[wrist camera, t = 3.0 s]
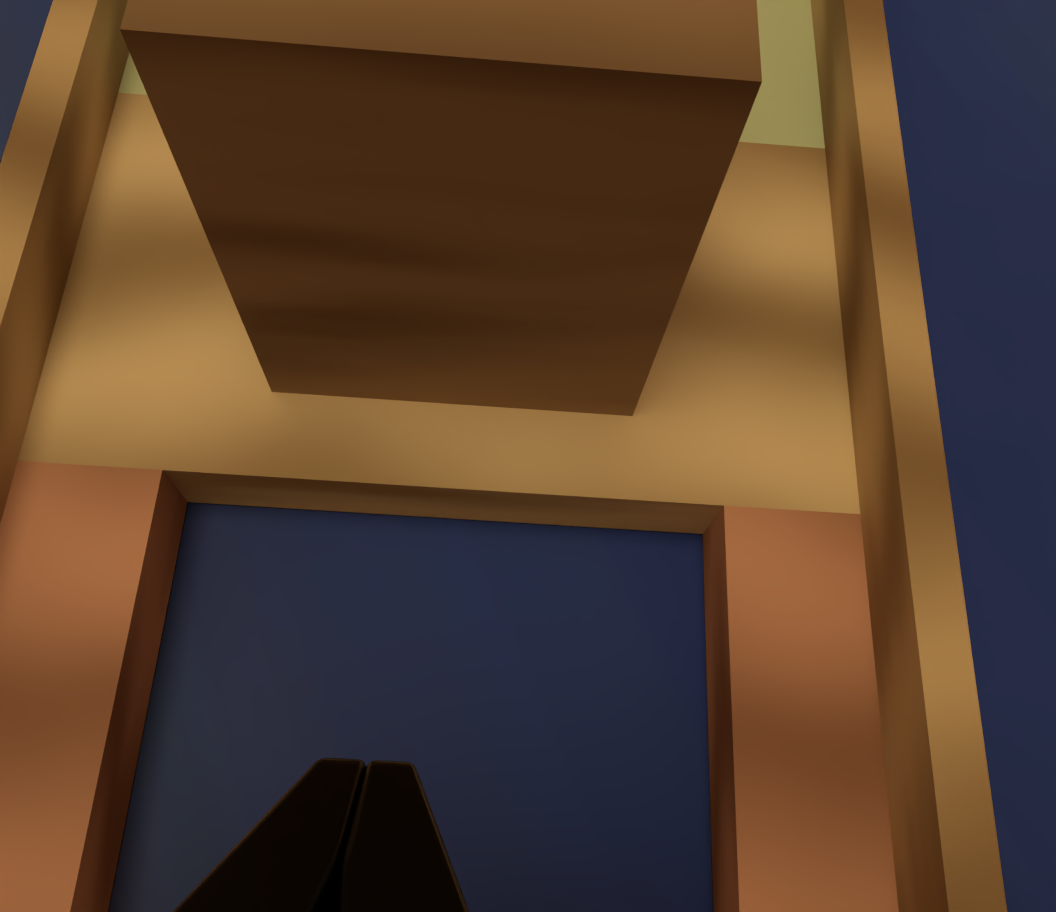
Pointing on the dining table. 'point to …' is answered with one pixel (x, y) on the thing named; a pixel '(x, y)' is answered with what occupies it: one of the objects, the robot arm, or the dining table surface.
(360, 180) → the walnut block
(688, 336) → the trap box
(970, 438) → the dining table surface
